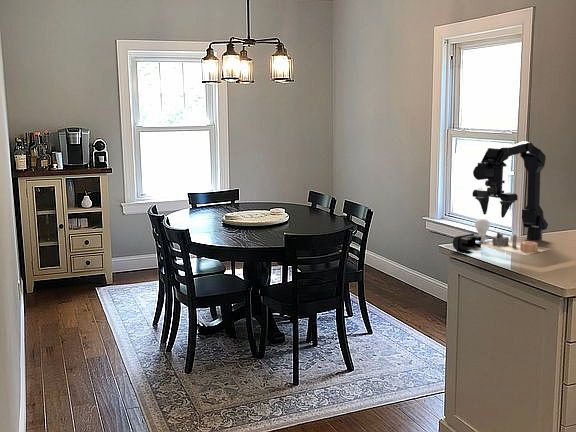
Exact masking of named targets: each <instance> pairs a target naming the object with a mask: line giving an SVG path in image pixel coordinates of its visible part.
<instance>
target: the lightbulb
mask: <svg viewBox="0 0 576 432" xmlns="http://www.w3.org/2000/svg"><path fill="white" fill-rule="evenodd" d="M490 226H491V224H490V220H488V219H487V218H485V217H480V218H477V219H476V221H475V223H474V227H475V228H476V231H477V236H479V237H481V241H479V242H480V243H485V241H486V236H487V232H488V230H489V229H490Z"/></svg>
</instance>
